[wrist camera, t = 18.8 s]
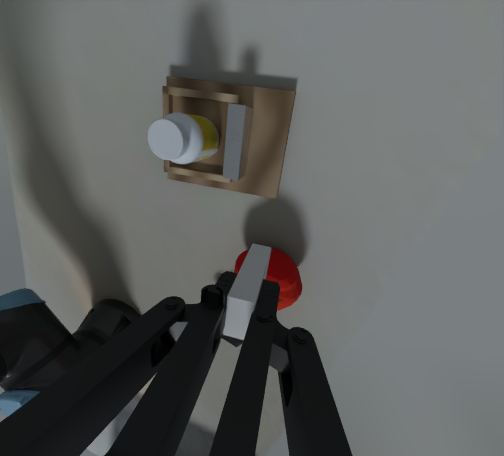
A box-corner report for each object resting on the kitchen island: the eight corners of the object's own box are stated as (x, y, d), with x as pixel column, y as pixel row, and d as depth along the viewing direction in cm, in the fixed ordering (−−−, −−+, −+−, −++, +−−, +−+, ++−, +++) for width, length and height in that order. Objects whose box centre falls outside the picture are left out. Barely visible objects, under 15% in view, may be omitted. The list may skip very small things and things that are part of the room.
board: (171, 177, 44) (164, 180, 41) (171, 78, 38) (162, 74, 35) (277, 196, 41) (275, 200, 39) (295, 92, 35) (294, 89, 32)
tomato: (254, 227, 44) (240, 252, 35) (313, 259, 44) (316, 293, 35) (230, 270, 49) (213, 302, 40) (284, 299, 49) (279, 338, 39)
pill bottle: (207, 107, 37) (168, 97, 26) (229, 145, 38) (200, 150, 28) (177, 130, 39) (130, 129, 28) (198, 165, 40) (161, 176, 30)
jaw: (231, 173, 40) (222, 177, 35) (238, 107, 36) (228, 103, 31) (245, 175, 39) (237, 180, 35) (253, 109, 35) (245, 105, 31)
